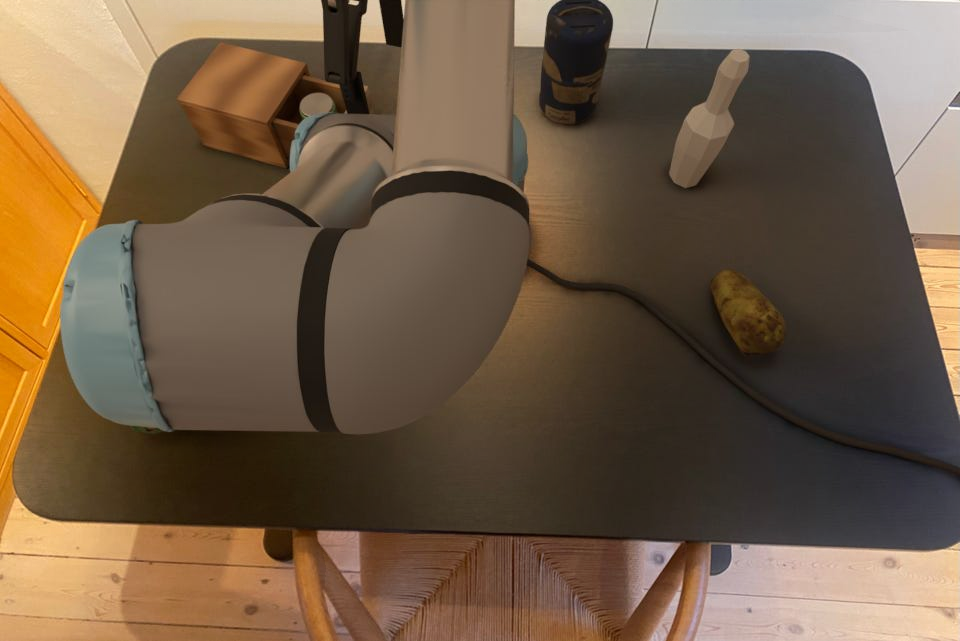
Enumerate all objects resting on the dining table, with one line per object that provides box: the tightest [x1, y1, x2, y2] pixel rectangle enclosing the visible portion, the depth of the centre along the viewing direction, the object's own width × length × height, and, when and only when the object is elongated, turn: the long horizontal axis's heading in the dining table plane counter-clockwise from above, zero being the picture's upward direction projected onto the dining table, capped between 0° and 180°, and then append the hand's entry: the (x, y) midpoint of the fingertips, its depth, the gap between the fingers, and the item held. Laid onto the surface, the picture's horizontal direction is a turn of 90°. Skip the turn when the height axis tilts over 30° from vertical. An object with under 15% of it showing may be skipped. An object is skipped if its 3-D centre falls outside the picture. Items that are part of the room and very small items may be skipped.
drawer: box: [271, 75, 375, 157], centre depth 91 cm, size 18×11×8 cm, turn 71°
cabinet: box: [176, 41, 312, 169], centre depth 93 cm, size 15×13×10 cm
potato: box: [710, 268, 787, 357], centre depth 78 cm, size 8×13×8 cm, turn 171°
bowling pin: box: [668, 48, 751, 189], centre depth 83 cm, size 6×6×22 cm
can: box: [299, 93, 337, 120], centre depth 91 cm, size 5×5×6 cm
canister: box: [538, 0, 614, 125], centre depth 91 cm, size 10×10×18 cm
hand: (378, 78), depth 79 cm, fingers open, 13 cm apart
